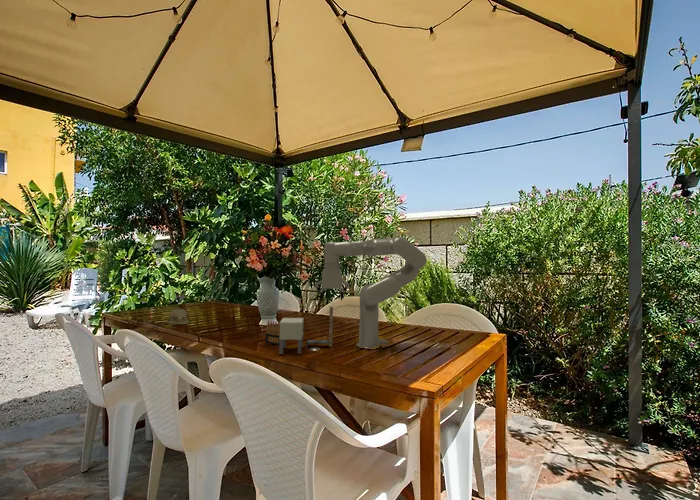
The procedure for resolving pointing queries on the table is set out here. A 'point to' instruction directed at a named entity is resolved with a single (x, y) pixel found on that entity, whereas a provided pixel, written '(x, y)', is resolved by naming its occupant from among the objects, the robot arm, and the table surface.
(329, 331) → the hook scraper
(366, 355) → the table surface
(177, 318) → the ceramic model
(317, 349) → the steel disc
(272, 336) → the ammunition clip
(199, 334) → the table surface
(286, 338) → the cabinet
